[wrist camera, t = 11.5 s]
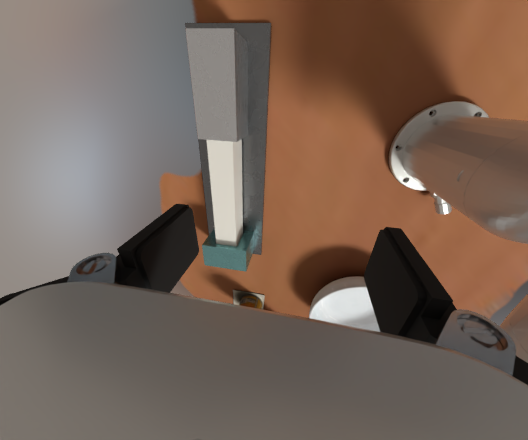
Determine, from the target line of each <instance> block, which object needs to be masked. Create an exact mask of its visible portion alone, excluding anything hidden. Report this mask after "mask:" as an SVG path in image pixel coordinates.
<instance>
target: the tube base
mask: <svg viewBox="0 0 528 440" xmlns="http://www.w3.org/2000/svg"><path fill="white" fill-rule="evenodd" d="M185 25H186V28H185V30H186V39H187V47H188V56H189V65H190V74H191V82H192V91H193V100H194V109H195V118H196V127H197V136H198V141H199V149H200V159H201V168H202V176H203V185H204V194H205V203H206V212H207V221H208V230H209V236H208V238H207V239H206V240H205V242H204V243H203V244H202V248H203V255H204V263H205V265H208V266H215V267H221V268H227V269H234V270H240V271H247V268H248V265H249V262H250V259H251V257H252V254H259V255H261V252H262V229H263V207H264V184H265V161H266V138H267V115H268V92H269V69H270V46H271V23H185ZM241 139H242V198H243V236H242V238H241V240H240V242H239V244H238V246H237V247H236V246H229V245H222V244H216V236H215V225H214V214H213V204H212V193H211V182H210V172H209V161H208V150H207V140H218V141H231V142H238V141H239V140H241Z"/></svg>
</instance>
